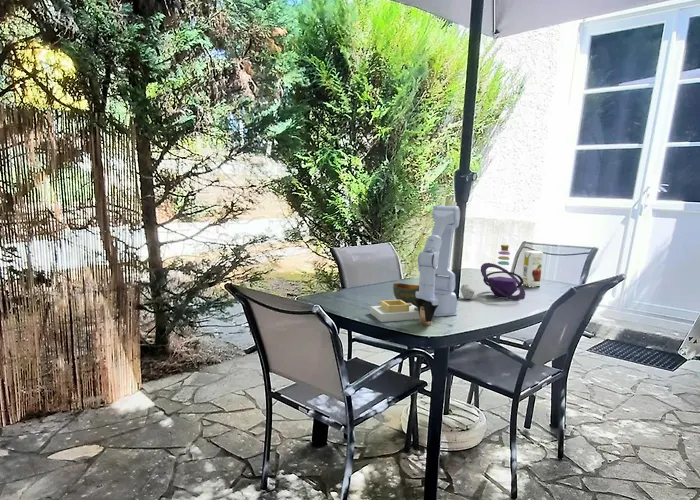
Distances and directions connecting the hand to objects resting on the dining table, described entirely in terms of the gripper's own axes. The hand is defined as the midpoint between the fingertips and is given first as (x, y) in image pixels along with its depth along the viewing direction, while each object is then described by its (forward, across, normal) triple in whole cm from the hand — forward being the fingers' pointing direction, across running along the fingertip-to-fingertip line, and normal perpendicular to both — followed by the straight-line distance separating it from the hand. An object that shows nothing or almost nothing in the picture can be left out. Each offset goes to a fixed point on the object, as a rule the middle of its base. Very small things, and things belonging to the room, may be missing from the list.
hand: (425, 319), depth 169 cm
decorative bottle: (+2, -32, +57) cm, 65 cm away
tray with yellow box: (+2, -13, -6) cm, 14 cm away
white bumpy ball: (+2, -32, +38) cm, 50 cm away
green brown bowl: (+2, -28, +9) cm, 29 cm away
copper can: (+2, 0, 0) cm, 2 cm away
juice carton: (+2, -49, +88) cm, 101 cm away
